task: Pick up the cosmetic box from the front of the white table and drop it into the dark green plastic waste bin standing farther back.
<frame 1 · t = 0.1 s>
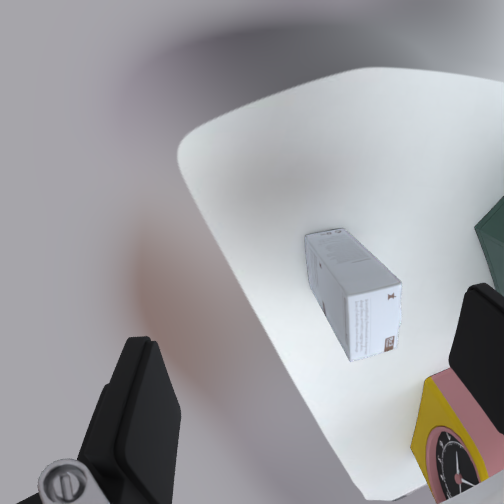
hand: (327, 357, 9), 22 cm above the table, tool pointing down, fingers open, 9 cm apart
alarm clock: (439, 408, 44), on the table
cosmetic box: (327, 258, 32), on the table
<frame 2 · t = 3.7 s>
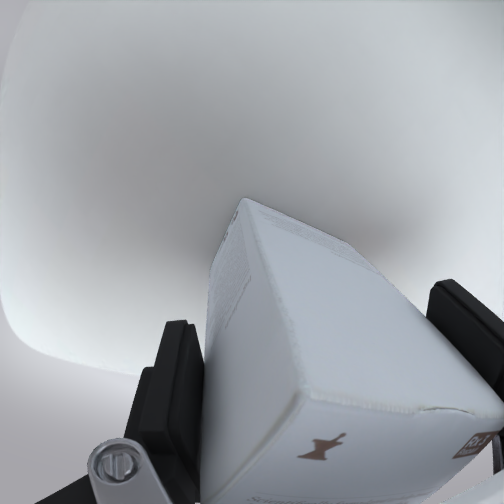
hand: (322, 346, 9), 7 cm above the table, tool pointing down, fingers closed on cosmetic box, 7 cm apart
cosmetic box: (283, 253, 16), on the table, touching gripper
when the fingers open (16 cm above the table, at t = 10.7 s): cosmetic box drops 7 cm, resting on bin.
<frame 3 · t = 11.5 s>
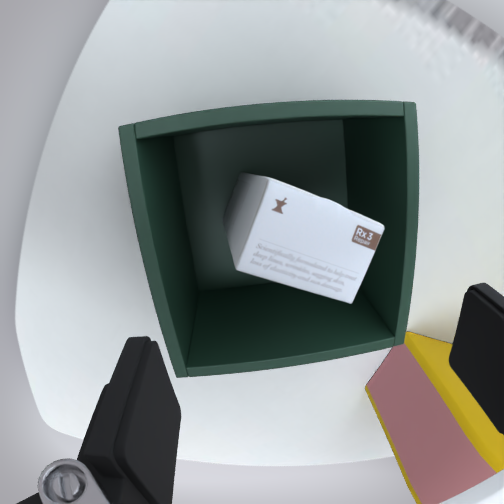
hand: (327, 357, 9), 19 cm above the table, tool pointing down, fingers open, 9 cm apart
alarm clock: (438, 372, 35), on the table
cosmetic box: (268, 208, 25), point 1 cm above the table, touching bin
bin: (266, 204, 26), on the table
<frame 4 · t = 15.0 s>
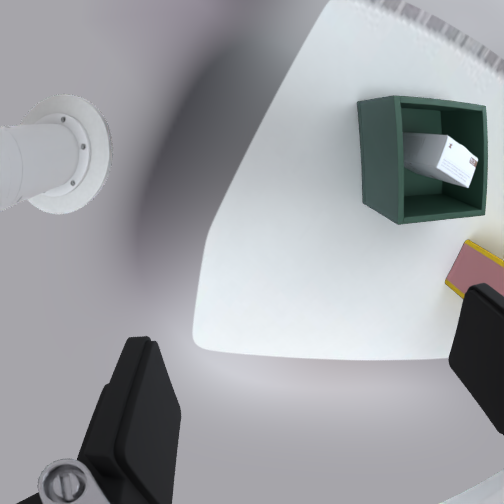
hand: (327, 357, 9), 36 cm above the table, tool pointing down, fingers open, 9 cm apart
alarm clock: (484, 277, 52), on the table
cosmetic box: (407, 152, 42), point 1 cm above the table, touching bin
bin: (404, 151, 42), on the table
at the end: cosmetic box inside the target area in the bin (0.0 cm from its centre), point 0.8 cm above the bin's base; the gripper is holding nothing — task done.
